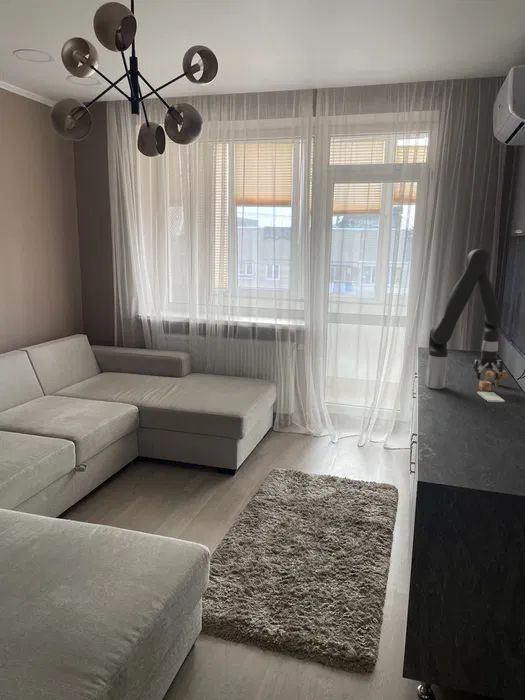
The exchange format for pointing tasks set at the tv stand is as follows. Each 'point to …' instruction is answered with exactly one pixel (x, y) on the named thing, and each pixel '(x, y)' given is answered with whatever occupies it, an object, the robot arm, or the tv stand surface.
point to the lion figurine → (501, 376)
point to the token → (485, 386)
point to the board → (491, 397)
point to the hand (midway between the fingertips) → (486, 379)
